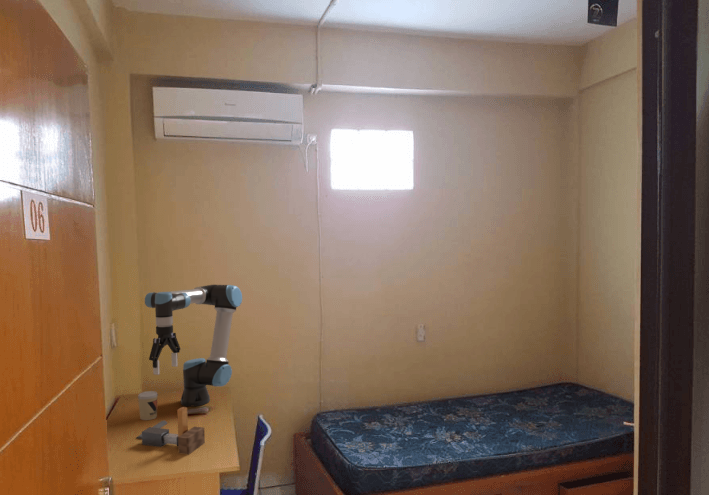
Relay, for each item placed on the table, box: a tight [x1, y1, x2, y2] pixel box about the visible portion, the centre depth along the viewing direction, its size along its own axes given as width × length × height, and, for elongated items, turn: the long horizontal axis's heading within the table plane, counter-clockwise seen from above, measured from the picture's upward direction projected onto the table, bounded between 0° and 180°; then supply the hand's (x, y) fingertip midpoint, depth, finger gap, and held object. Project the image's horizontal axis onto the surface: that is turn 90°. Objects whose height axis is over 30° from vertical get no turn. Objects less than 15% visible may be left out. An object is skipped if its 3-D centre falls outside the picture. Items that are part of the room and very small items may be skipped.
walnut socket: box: [177, 426, 206, 456], centre depth 232 cm, size 12×5×7 cm, turn 163°
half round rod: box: [135, 420, 168, 440], centre depth 252 cm, size 4×20×2 cm, turn 167°
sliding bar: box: [162, 406, 189, 448], centre depth 234 cm, size 4×20×16 cm, turn 73°
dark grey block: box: [141, 426, 170, 448], centre depth 237 cm, size 6×10×6 cm, turn 73°
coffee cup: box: [137, 390, 159, 421], centre depth 269 cm, size 9×9×12 cm
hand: (165, 370), depth 250 cm, fingers open, 13 cm apart
